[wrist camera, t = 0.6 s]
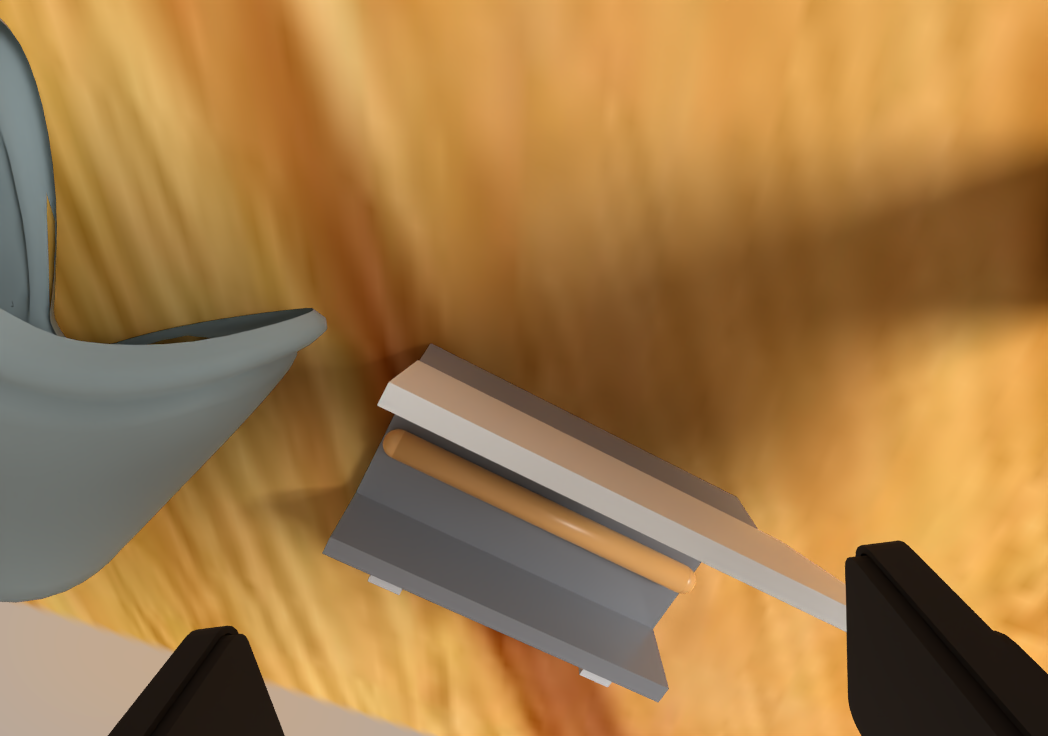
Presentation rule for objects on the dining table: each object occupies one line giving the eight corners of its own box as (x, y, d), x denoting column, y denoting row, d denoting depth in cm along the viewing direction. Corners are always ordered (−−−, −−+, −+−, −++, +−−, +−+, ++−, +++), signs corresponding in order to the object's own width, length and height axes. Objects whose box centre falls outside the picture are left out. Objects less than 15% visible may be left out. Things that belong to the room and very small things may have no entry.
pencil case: (-138, 271, 35) (-496, 307, 23) (49, 20, 32) (-248, -99, 19) (168, 510, 39) (9, 650, 27) (360, 312, 36) (280, 367, 24)
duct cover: (773, 553, 33) (780, 540, 33) (952, 683, 21) (963, 663, 21) (410, 374, 30) (417, 360, 30) (376, 405, 18) (388, 381, 18)
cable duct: (737, 497, 38) (772, 552, 33) (635, 639, 42) (651, 711, 36) (430, 343, 36) (411, 373, 30) (348, 508, 39) (316, 564, 33)
